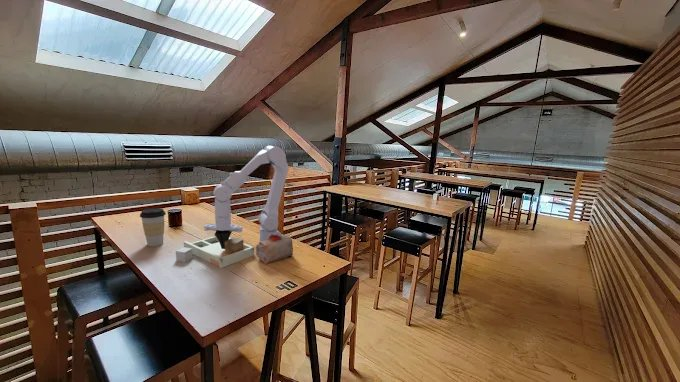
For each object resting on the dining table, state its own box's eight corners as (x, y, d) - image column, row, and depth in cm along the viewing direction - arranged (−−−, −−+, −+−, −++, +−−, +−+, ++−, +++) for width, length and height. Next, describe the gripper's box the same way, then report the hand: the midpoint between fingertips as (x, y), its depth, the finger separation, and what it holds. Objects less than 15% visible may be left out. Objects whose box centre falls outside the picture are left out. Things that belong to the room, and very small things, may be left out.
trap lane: (254, 255, 121) (254, 247, 120) (221, 267, 109) (220, 259, 108) (216, 239, 135) (216, 232, 135) (184, 249, 123) (183, 241, 122)
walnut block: (243, 251, 120) (243, 239, 119) (236, 255, 115) (235, 243, 114) (232, 249, 121) (232, 237, 120) (225, 253, 116) (224, 241, 115)
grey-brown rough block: (264, 266, 112) (264, 241, 110) (254, 259, 117) (254, 235, 115) (294, 257, 121) (295, 234, 119) (283, 251, 127) (283, 229, 125)
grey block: (192, 258, 116) (192, 248, 115) (185, 262, 112) (184, 252, 111) (184, 256, 117) (183, 247, 116) (176, 260, 113) (175, 250, 112)
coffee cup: (147, 249, 121) (144, 214, 118) (138, 243, 127) (135, 210, 124) (172, 243, 129) (169, 210, 126) (162, 238, 134) (159, 206, 131)
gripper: (244, 213, 120) (245, 245, 123) (209, 211, 121) (210, 243, 123) (238, 218, 113) (239, 251, 116) (201, 216, 114) (202, 249, 116)
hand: (224, 247), depth 119 cm, fingers closed
